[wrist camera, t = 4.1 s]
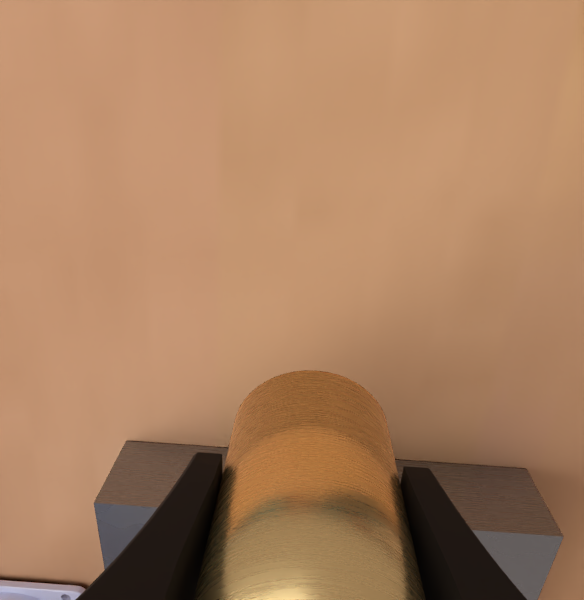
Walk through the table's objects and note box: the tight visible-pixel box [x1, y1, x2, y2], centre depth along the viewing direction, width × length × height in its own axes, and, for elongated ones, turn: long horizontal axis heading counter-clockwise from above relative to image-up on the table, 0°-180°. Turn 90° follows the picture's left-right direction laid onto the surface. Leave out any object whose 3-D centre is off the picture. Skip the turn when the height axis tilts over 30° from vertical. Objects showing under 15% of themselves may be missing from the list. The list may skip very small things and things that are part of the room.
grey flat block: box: [94, 441, 563, 600], centre depth 22 cm, size 18×12×4 cm, turn 87°
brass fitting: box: [194, 371, 426, 600], centre depth 10 cm, size 4×4×7 cm
